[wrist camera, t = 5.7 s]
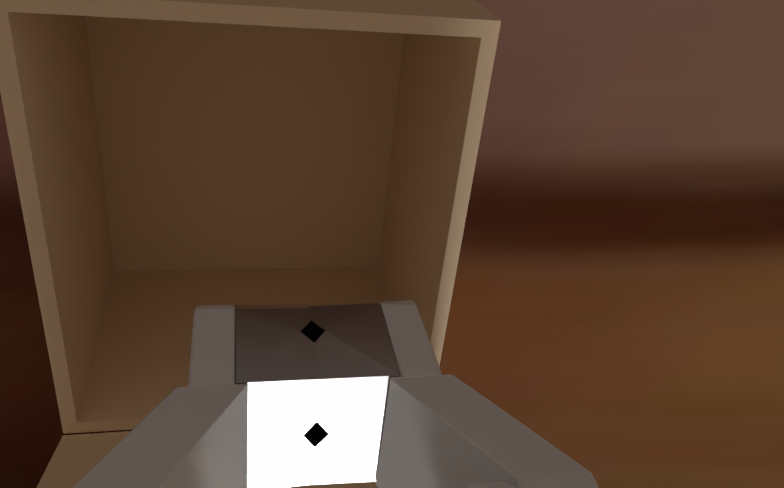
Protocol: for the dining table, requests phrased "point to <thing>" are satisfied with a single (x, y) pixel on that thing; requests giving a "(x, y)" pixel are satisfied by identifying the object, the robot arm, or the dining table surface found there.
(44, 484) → the carton flap
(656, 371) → the dining table surface
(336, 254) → the carton
